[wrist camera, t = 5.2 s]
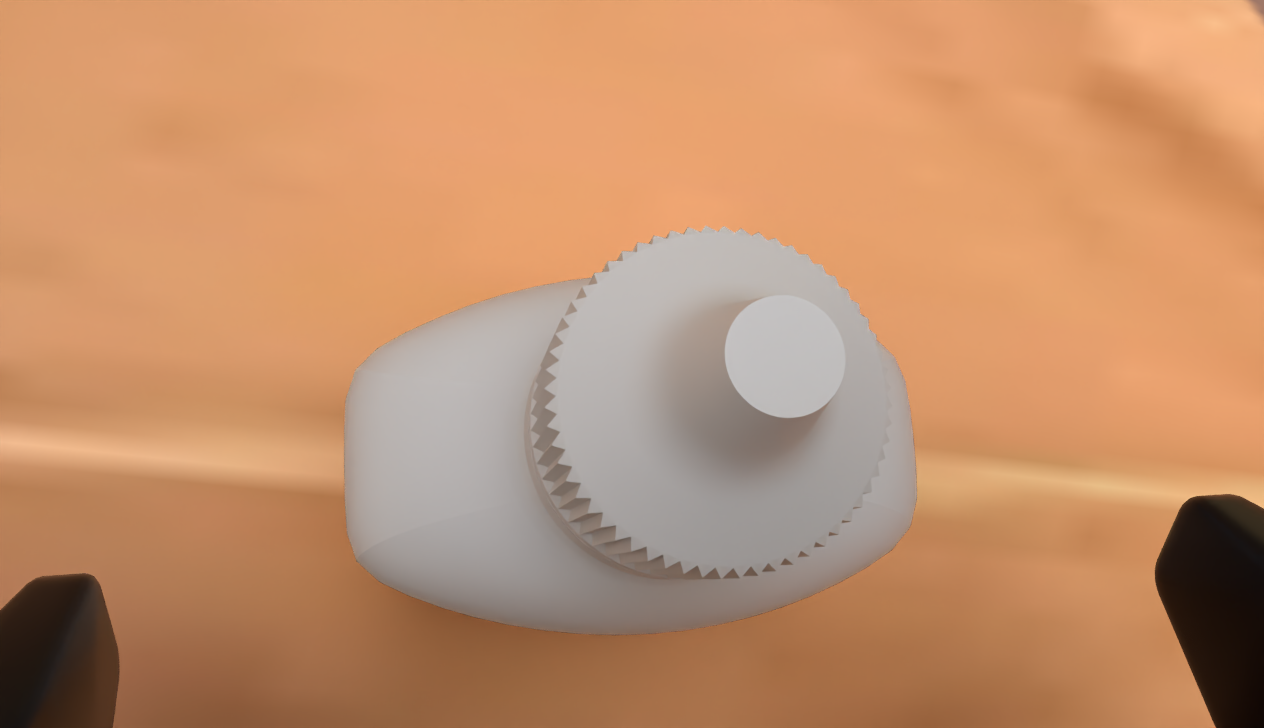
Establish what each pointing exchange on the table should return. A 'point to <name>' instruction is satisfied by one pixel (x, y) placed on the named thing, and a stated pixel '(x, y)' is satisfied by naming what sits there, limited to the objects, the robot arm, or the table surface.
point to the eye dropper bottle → (634, 444)
